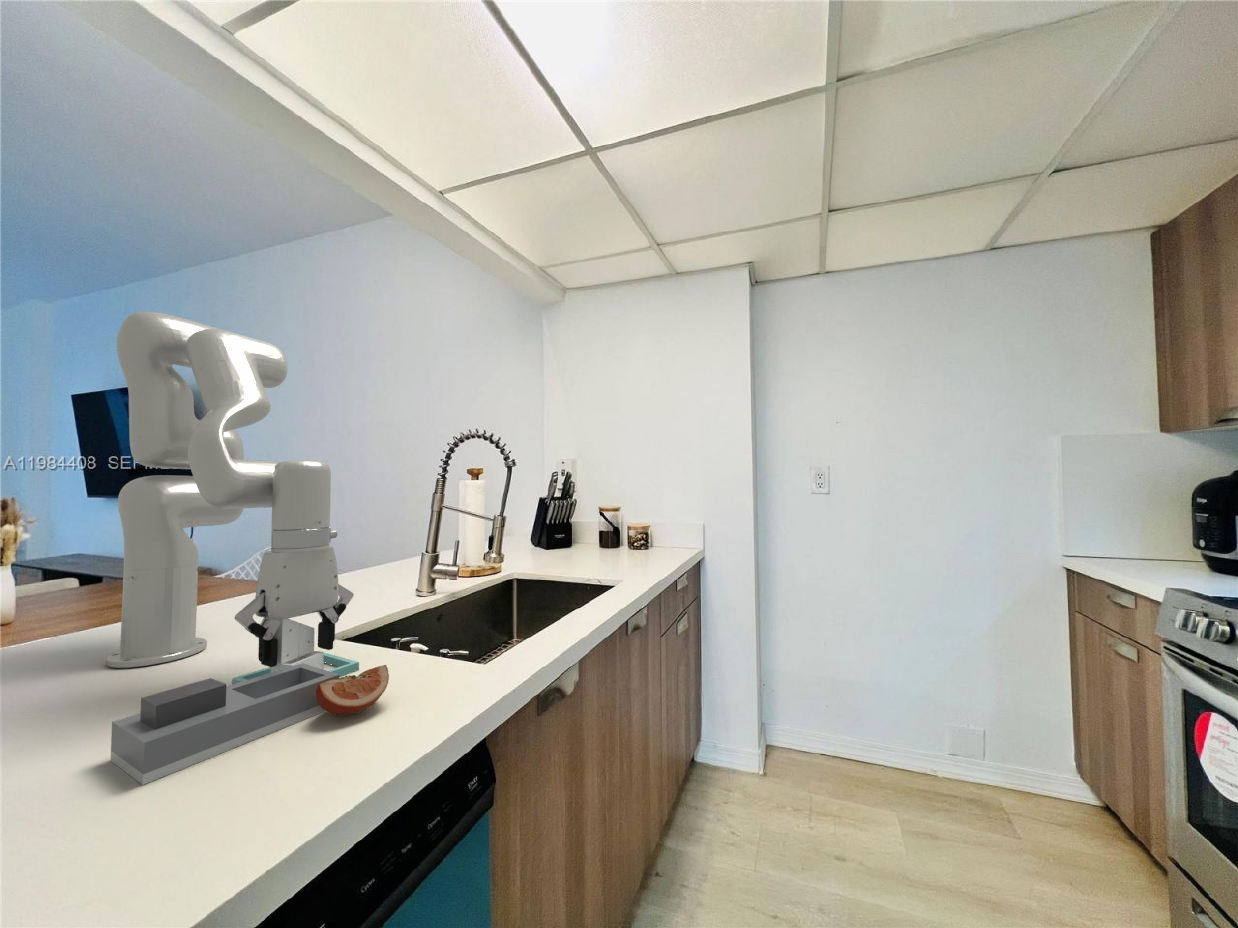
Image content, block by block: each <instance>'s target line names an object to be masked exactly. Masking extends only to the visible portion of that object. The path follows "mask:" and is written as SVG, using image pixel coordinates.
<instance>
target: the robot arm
mask: <svg viewBox="0 0 1238 928" xmlns="http://www.w3.org/2000/svg"><path fill="white" fill-rule="evenodd" d="M116 353H117V358H118V362H119V365H120V368H121V372H122V374H123V376H124V379H125V383H126V386H127V390H128V416H129V417H128V425H129V427H128V428H129V447H130V453H131V457H132V459H134V461H135V462H136V463H137V464H139V465H142V466H143V467H144V466H145V467H148V468H155V469H156V468H158V469H171V470H175V469H177V470H178V469H179V470H180V469H181V470H191V473H192V475H175V474H174V475H170V474H169V475H168V474H166V475H163V474H162V475H161V474H160V475H148V476H143V477H138V478H135V479H133V480H130V481H128V482H127V483H126V484H125V485H123V486H122V488H121V489H120V491H119V493H118V498H117V507H118V513H119V517H120V518H119V519H120V522H121V527H122V535H123V577H122V578H123V579H122V596H121V597H122V599H121V600H122V601H121V621H120V622H121V624H120V642H119V643H120V647H119V650H117V651H115V652H113V653H111V654H109V655H108V656H107V657H106V661H105V665H106V666H108V667H109V668H117V669H126V668H127V669H128V668H139V667H146V666H151V665H158V664H163V663H167V662H172V661H176V660H180V659H184V658H187V657H190V656H193V655H195V654H198V653H200V652H202V651H204V650H205V649H206V648H207V646H208V645H207V643H208V641H207V639H205V638H202V637H197V635H196V634H197V633H196V632H197V611H198V610H197V609H198V608H197V607H198V586H199V584H198V581H199V580H198V579H199V549H198V547H197V545H196V544H195V542H194V540H192V538H191V537H190V536H189V535H188V533H186V531H185V530H184V529H186V528H197V527H198V528H199V527H208V526H209V527H213V526H223V525H228V524H231V523H233V522H235V521H236V520H238V519H239V518H240V517H241V515H242V514H243V511H244V509H256V508H257V509H259V508H263V509H265V508H267V509H268V508H269V509H270V508H271V532H270V533H271V536H270V537H271V538H270V550H268V551H264V552H263V555H262V558H261V561H260V566H259V572H258V575H257V576H258V577H257V580H256V588H255V596H254V597H255V598H253V600H251V601H250V602H249V603H248V604H247V605H245V606H244V607H243V608H242V609H241V610H239V611H238V612H237V613H236V614H235V615H234V620H235V621H236V622H237V623H238V624H240V625H241V626H242V627H243V628H244V630H246V631H247V632H248V633H250V634H252V635H254V636H255V638H258V654H257V655H258V658H257V659H258V661H259V662H260V664H261V665H262V666H265V667H267V668H268V667H274V666H276V665H277V652H278V639H277V638H274V634H275V632H276V631H277V629H278V627H279V625H280V624H281V622H282V620H283V619H292V618H296V617H301V616H306V615H310V614H314V613H317V614H318V616H319V617H320V620H321V621H319V622H318V623H317V648H319V649H323V650H326V651H330V650H333V649H334V642H335V639H336V624H337V623H338V622H339V620H340V617H341V615H343V613H344V612H345V611H346V609H347V606H348V605H349V603H350V602H351V601H352V600H353V597H354V595H355V594H354V592H353V591H351V590H349V589H348V588H346V587H344V586H343V585H341V584H340V583H339V572H338V571H339V570H338V564H337V558H336V554H335V550H334V546H331V545H330V544H331V540H332V539H335V538H337V537H338V531H337V530H336V529H332V527H331V489H332V488H331V484H332V482H331V481H332V480H331V479H332V474H331V467H330V466H329V465H328V464H327V463H326V462H323V461H318V460H298V459H297V460H283V461H276V460H275V461H272V460H260V459H259V460H258V459H245V455H244V454H245V453H244V443H243V441H242V437H241V436H240V434H239V433H238V431H237V429H241V428H246V427H248V426H251V425H254V424H256V423H258V422H260V421H262V420H264V419H265V418H266V417H267V416H268V415H269V414H270V411H271V401H270V399H269V397H268V394H267V392H266V389H272V388H276V387H279V386H280V385H282V383H284V381H285V380H286V378H287V375H288V372H289V370H288V361H287V359H286V356H285V354H284V353H283V351H282V350H281V349H280V348H279V347H277V346H276V345H275V344H273V343H270V342H267V341H264V340H261V339H258V338H257V339H256V338H254V337H250V336H247V335H243V334H239V333H236V332H232V331H229V330H225V329H222V328H218V327H214V326H212V325H207V324H204V323H201V322H197V321H194V320H190V319H188V318H184V317H179V316H176V315H173V314H169V313H163V312H156V311H138V312H137V311H136V312H134V313H131V314H129V315H128V316H127V317H126V318H125V319H124V320H123V321H122V323H121V325H120V326H119V330H118V332H117V337H116ZM174 365H175V366H180V367H181V366H182V367H185V368H189V369H191V370H192V373H193V376H194V379H195V381H196V384H197V387H198V390H199V393H200V395H201V398H202V401H203V404H204V406H205V408H206V412H207V413H206V414H205V415H204V416H203V417H202V418H201V419H198V418H197V417H196V414H195V405H194V404H195V402H194V401H195V399H194V394H193V391H192V389H191V388H190V387H191V386H189V385H188V384H187V381H186V380H185V379H184V378H183V376H182V375H181V374H179V372H177V370H176V369H175V368H174V367H173V366H174ZM254 615H255V616H257V617H258V618H262V619H261V622H260V623H258V622H257V621H256V620H255V619H254Z"/></svg>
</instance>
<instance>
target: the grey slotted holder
mask: <svg viewBox="0 0 1238 928" xmlns="http://www.w3.org/2000/svg"><path fill="white" fill-rule="evenodd" d="M339 678H341V676H340V675H339V674H336V673H333V672H330V671H329V670H325V669H324V668H323V669H320V668H317V667H313V666H310V665H307V664H304V663H302V664H298V665H295V666H292V667H289V668H285V669H282V670H279V671H276V672H272V673H269V674H266V675H263V676H259V677H256V678H253V679H250V680H246V681H243V682H240V683H237V684H233V685H232V684H229V685H227V684H226V683H223V682H221V681H218V680H217V679H214V678H211V677H210V678H206V679H203V680H199V681H195V682H192V683H188V684H185V685H182V686H178V687H175V688H172V689H167V690H165V691H161V692H158V693H157V692H156V693H154V694H150V695H147V696H143V697H141V698H140V712H139V713H137V714H133V715H129V716H127V717H123V718H120V719H117V720H114V721H112V722H111V736H110V737H111V738H110V740H111V741H110V743H111V744H110V761H111V762H112V763H114V765H116V766H117V767H119V768H120V769H121V770H122V771H124V772H125V773H126V774H128V776H130V777H132V778H133V779H134V780H136V782H138V783H139V784H141V785H142V786H144V785H146V784H148V783H151V782H154V781H157V780H159V779H161V778H164V777H166V776H169V775H171V774H173V773H176V772H179V771H181V770H183V769H186V768H188V767H192V766H193V765H195V764H199V763H201V762H203V761H206V760H208V759H211V758H213V757H215V756H218V755H220V754H222V753H225V752H228V751H230V750H232V749H235V748H238V747H239V746H243V745H244V744H248V743H250V742H253V741H254V740H258V739H259V738H262V737H264V736H267V735H269V734H272V733H275V732H277V731H279V730H282V729H284V728H286V727H289V726H292V725H294V724H297V723H299V722H301V721H304V720H307V719H308V718H312V717H313V716H316V715H318V714H321V713H324V712H326V711H325V710H324V709H323V708H321V706H320V705H319V703H318V701H317V698H316V689H317V687H318V685H319V684H320V683H323V682H325V681H329V680H333V679H339Z"/></svg>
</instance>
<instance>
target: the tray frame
mask: <svg viewBox="0 0 1238 928" xmlns="http://www.w3.org/2000/svg"><path fill="white" fill-rule="evenodd" d="M324 662H326V663H325V664H327V663H329V664H328V665H330V664H332V665H331V666H333V665H335V668H331V669H329V670H328V671H330V672H333V673H336V674H339V675H340V677H344V676H347V675H349V674H351V673H354V672H357V671H359V670H360V662H359V661H356V660H354V659H353V660H352V659H350V658H349V659H348V658H345V657H341V656H338V655H335V654H330V653H328V652H327V653H326V652H324ZM337 666H338V667H337ZM269 673H271V667H268V666H267V667H266V668H262V669H259V670H258V669H257V670H256V671H252V672H248V673H246V674H242V675H238V676H235V677H232V678H231V685H233V684H237V683H240V682H243V681H246V680H250V679H253V678H256V677H259V676H263V675H266V674H269Z"/></svg>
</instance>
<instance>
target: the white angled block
mask: <svg viewBox="0 0 1238 928" xmlns="http://www.w3.org/2000/svg"><path fill="white" fill-rule="evenodd" d="M315 630H316V629H315V627H313V626H309V625H307V624H305V623H302V622H298V621H296V620H294V619H292V618H288V619H283V620H282V622H281V624H280V625H279V627H278V629H277V631H276V632H275V634H274V638H277V639H278V652H277V665H276V666H274V667H271V673H272V672H276V671H279V670H282V669H285V668H289V667H292V666H295V665H298V664H302V663H304V664H307V665H310V666H313V667H317V668H320V669H323V670H324V664H325V663H324V653H325V652H324V651H321V650H320V651H318V650H315Z"/></svg>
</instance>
